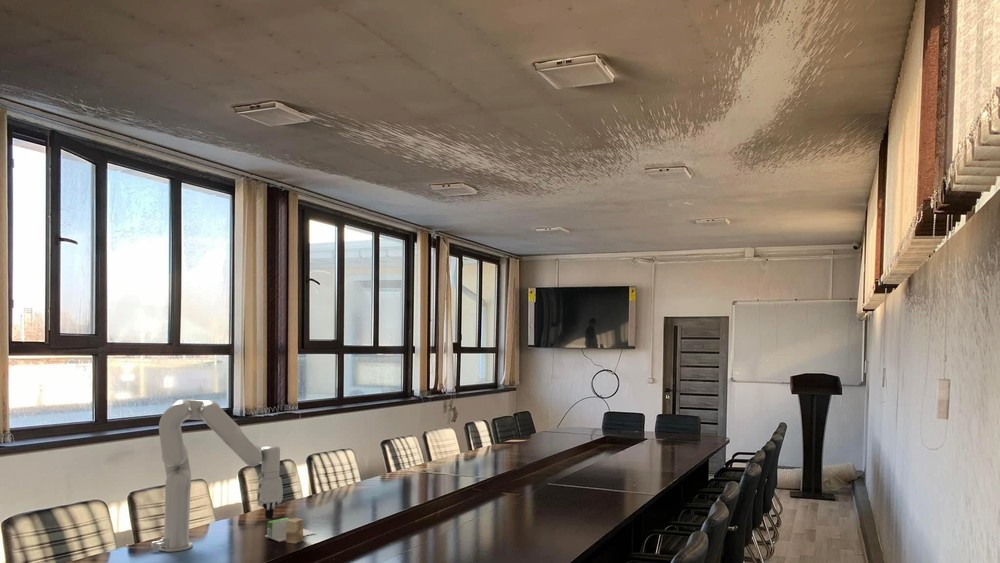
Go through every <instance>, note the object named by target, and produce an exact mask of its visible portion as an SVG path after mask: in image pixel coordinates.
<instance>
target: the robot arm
mask: <svg viewBox="0 0 1000 563" xmlns="http://www.w3.org/2000/svg"><path fill="white" fill-rule="evenodd" d="M186 420H197V421H203V422H204V423H205V424H206V425H207V426H208V427H209V428H210V429H211V430H212V431H213V432H214V433H215V434H216V435H217V436H218V437H219V438H220V439H221V440H222V442H223V443H224V444H225V445H227V446H228V448H230V449H231V450H232V451H233V452H234V453H235V454H236V456H238V457H239V459H241V460H242V461H243V462H244V463H245V464H246V466H248V467H256V466H259V465H260V464H261V471H260V473H258V477H259V482H258V485H257V492H256V493H257V496H256V499H257V500H256V501H257V506H259V507H262V508H263V509H264V510H265V511H264V517H265V519H267V520H272V519H273V516H274V509H275V507H276V506H277V505H279V504H280V503H282V500H283V499H284V498H283V497H284V491H283V490H284V489H283V488H284V487H283V481H282V477H280V471H281V470H280V465H281V449H280V446H278V445H267V446H261V445H260V446H259V445H254V443H253V442H252V441H250V439H249V438H248V437H247V435H245V433H244V432H243V431H242V429H241V427H240V426H239V424H237V422H235V421H234V420H233V418H231V416H229V415H228V414H227V413H226V411H225V410H224V409H222V407H221V406H220V405H219V403H218V402H216V401H214V400H200V399H178V400H176V401H174V402H173V403H172V404H171V405H170V406H169V407H168V408H167V409H166V410H165V411H164V412H163V413H162V415H161V417H160V419H159V423H158V432H159V433H158V434H159V440H160V442H159V443H160V448H161V459H162V462H163V463H164V468H165V474H166V475H165V476H166V478H165V479H166V480H165V487H164V495H165V496H164V497H165V498H164V520H163V521H164V526H163V536H162V537H160V538H161V539H159V540H155V541H151V543H150V546H151V548H154V547H157V548H158V549H159V551H161V552H167V553H169V552H181V551H185V550H189V549H191V548H192V547H193V542H192V541H189V540H190V538H189V537H190V516H191V514H190V511H191V487H192V473H191V472H192V471H191V466H190V462H189V461H190V460H189V455H188V450H187V447H186V445H185V444H184V439H183V433H182V432H183V430H182V424H183V423H184V422H185V421H186Z"/></svg>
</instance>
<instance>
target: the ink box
mask: <svg viewBox="0 0 1000 563" xmlns="http://www.w3.org/2000/svg"><path fill="white" fill-rule="evenodd" d="M290 519H291V518H288V517H284V518H283V517H282V518H279V519H273V520H272V519H271V520H268V521H267V524H266V526H267V528H266V535H267V537H266V538H267V539H271V540H273V539H275V538H279V537H283V536H286V520H290Z"/></svg>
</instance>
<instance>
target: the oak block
mask: <svg viewBox="0 0 1000 563" xmlns="http://www.w3.org/2000/svg"><path fill="white" fill-rule="evenodd" d="M289 519H290V520H286V540H285V542H286V543H289V544H294V543H295V544H298V543H300V541H301V542H304V537H303V529H304V519H302V518H299V517H294V518H289ZM297 542H298V543H297Z"/></svg>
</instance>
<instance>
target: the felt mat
mask: <svg viewBox="0 0 1000 563" xmlns="http://www.w3.org/2000/svg"><path fill="white" fill-rule="evenodd" d="M315 533H316V532H314V531H311V530H308V529H306V528H303V536H304V537H308V536H307V535H309V536H312V535H311V534H314V535H316V534H315ZM264 537H266V538H267V534H266V535H264ZM272 540H274V541H277V542H278V543H280V542H284V541H285V542H286V536H283V537H279V538H275V539H272Z"/></svg>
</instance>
